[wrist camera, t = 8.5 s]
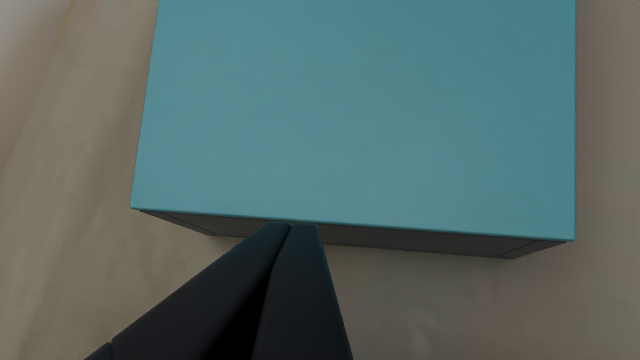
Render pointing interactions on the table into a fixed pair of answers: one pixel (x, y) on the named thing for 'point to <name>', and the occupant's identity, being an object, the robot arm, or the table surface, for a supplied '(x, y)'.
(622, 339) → the table surface
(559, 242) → the tray
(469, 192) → the cover
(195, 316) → the robot arm
